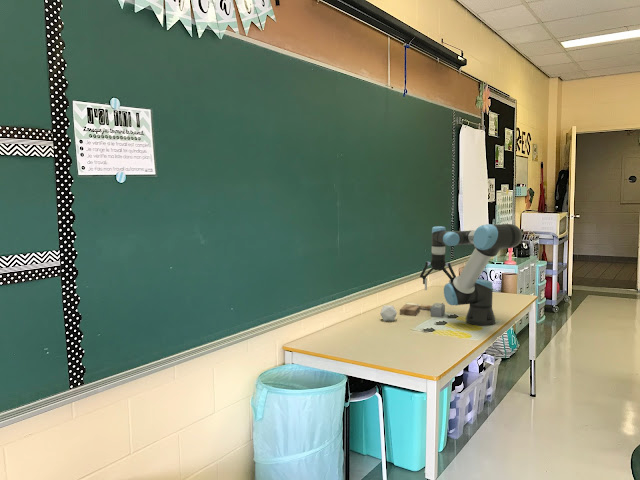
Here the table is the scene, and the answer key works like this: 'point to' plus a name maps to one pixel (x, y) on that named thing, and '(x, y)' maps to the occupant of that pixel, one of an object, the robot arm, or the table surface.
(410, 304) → the chalk box
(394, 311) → the die
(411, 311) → the plinth
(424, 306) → the felt eraser
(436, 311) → the block
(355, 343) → the table surface
